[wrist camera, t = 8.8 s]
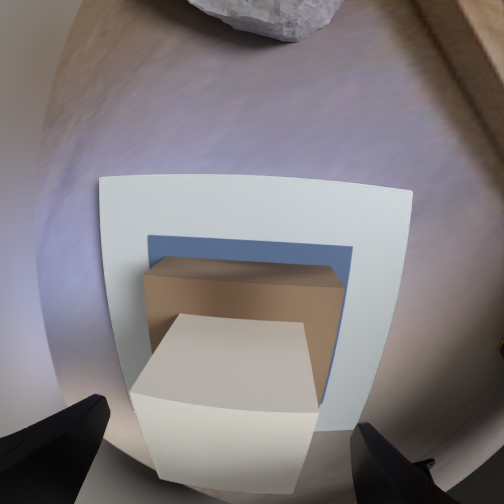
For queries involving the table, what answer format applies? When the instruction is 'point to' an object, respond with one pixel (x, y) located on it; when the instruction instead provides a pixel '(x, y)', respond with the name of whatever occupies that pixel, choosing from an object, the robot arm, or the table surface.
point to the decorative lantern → (502, 348)
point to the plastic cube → (228, 404)
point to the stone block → (272, 16)
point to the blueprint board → (262, 220)
